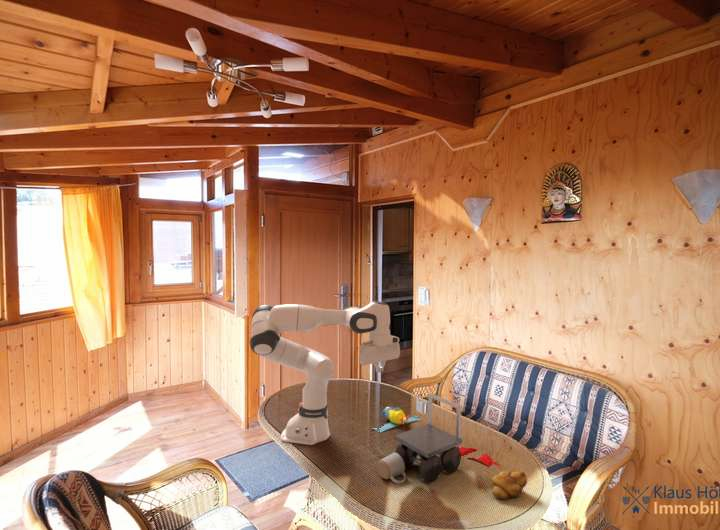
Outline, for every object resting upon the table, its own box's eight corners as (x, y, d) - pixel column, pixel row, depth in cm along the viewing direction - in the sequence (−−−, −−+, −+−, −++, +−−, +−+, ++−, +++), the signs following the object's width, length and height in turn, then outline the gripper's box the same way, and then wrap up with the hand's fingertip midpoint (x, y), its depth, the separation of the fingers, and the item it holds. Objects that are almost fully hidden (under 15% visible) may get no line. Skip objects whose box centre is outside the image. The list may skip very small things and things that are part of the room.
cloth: (509, 465, 166) (509, 459, 166) (488, 476, 158) (488, 470, 158) (459, 440, 187) (459, 435, 187) (438, 449, 180) (438, 444, 179)
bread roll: (502, 506, 139) (503, 482, 139) (482, 490, 148) (482, 468, 147) (529, 495, 145) (530, 473, 144) (508, 481, 153) (508, 460, 153)
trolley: (425, 489, 148) (426, 418, 147) (392, 467, 163) (392, 403, 162) (463, 470, 161) (464, 405, 160) (429, 452, 175) (430, 392, 174)
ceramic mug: (376, 475, 157) (376, 455, 157) (391, 468, 163) (391, 449, 162) (395, 488, 149) (395, 467, 149) (411, 480, 154) (411, 460, 154)
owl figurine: (382, 418, 190) (363, 408, 202) (382, 437, 190) (364, 426, 203) (427, 405, 206) (407, 397, 218) (427, 422, 206) (407, 413, 218)
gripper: (364, 344, 166) (364, 378, 167) (402, 337, 178) (402, 369, 179) (355, 341, 171) (355, 374, 172) (392, 335, 183) (392, 366, 184)
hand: (379, 371), depth 176 cm, fingers closed
